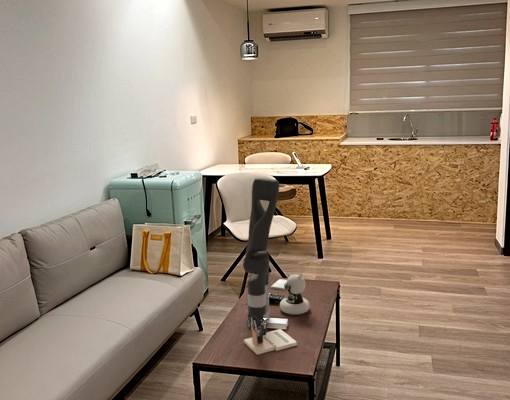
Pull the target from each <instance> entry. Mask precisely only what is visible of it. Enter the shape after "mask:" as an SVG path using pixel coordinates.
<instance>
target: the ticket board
mask: <svg viewBox="0 0 510 400" xmlns="http://www.w3.org/2000/svg"><path fill="white" fill-rule="evenodd" d="M263 338H264V339H265V340H267V341H268V342H269V343H270V344H271V345H272V346H274V351H276V352H277V351H280V350H284V349H289V348H292V347H295V346H297V345H298V342H297V341H296V340H295V339H294V338H292V337H291V335H289V334H288V333H286V332H285V331H284V330H283V329H281V328H279V329H275V330H272V331H266V335H264V336H263Z"/></svg>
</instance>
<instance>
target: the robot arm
mask: <svg viewBox="0 0 510 400" xmlns="http://www.w3.org/2000/svg"><path fill="white" fill-rule="evenodd" d="M279 182H280V181H279V180H277V179H274V178H273V179H272V178H267V177H255V178H254V179H253V182H252V185H251V210H250V218H249V223H248V240H247V246H246V250H245V256H244V259H243V262H242V267H243V270H244V272H245V273H248V274H252V275H251V276H250V277H248V281H247V292H248V293H247V319H248V324H249V328H250V329H251V331H252V329H256V330H257V338H258V344H261V343H263V336H264V335H266V333H267V332H268V323H265V321H264V319H263V318H268V319H269V318H270V291H269V290H270V287H269V286H270V284H269V282H270V281H269V279H270V277H269V275H270V271H269V269H270V254H269V251H268V250H267V249H268V243H269V238H270V237H269V236H270V232H271V227H272V223H273V219H274V215H275V212H276V206H277V202H278V199H279V198H278V197H279V192H280V183H279ZM261 201H264V202H265V201H266V202H268V206H267V208H266V210H265V209H264V207H263V205H262V203H261ZM259 330H260V333H259Z"/></svg>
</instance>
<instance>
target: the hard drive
mask: <svg viewBox="0 0 510 400" xmlns="http://www.w3.org/2000/svg"><path fill="white" fill-rule="evenodd" d="M286 282H287V279H281V278H279V279H278V280H277V281H275V282H274V283H273V284H272V285H271V286H270V289H274V290H280V291H286V290H287V289H285V288H284V284H285V283H286ZM285 285H286V284H285Z"/></svg>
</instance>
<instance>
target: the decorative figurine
mask: <svg viewBox="0 0 510 400" xmlns="http://www.w3.org/2000/svg"><path fill="white" fill-rule="evenodd" d="M287 274H288V278H287V279H286V280H287V282H286V283H285V284H286V285H285V284H284V288H285V289H286V290H287V291H288V295H287V297H285V298H283V299H282V300H281V301H280V303H279V307H280V311H282V312H283V313H285V314H288V315H294V316H295V315H303V314H305V313H307V312H308V311H309V310H310V306H311V305H310V301H309V300H308V299H306V298H304V297H303V296H302V293H303V292H304V291H305V289H306V280H305V278H304V277H303V276H302V275H303V273H300V274H297V273H296V274H292V273H290V272H289V271H287Z"/></svg>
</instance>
